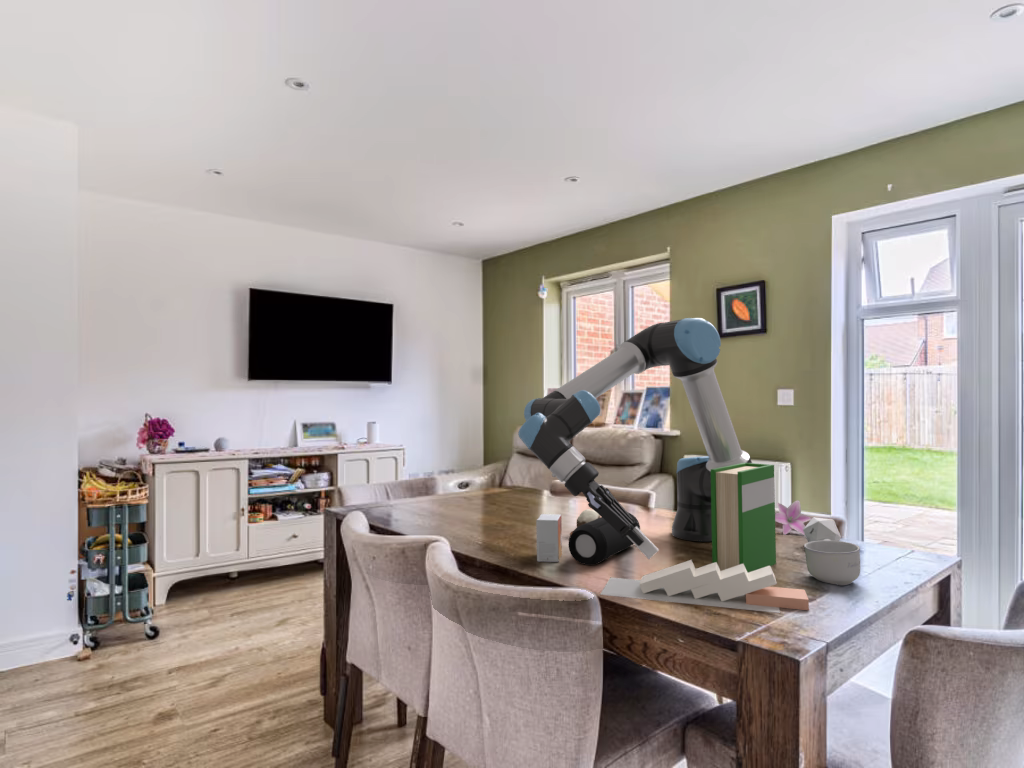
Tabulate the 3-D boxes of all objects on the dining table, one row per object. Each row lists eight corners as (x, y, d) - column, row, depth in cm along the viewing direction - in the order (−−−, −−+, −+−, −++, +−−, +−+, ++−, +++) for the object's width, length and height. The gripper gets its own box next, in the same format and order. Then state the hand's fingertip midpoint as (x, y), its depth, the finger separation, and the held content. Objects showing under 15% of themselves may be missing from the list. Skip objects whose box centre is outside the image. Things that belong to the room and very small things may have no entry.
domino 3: (690, 589, 119) (744, 571, 116) (692, 580, 125) (743, 563, 122) (695, 599, 119) (748, 581, 116) (696, 589, 125) (747, 572, 121)
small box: (558, 562, 148) (558, 520, 148) (536, 562, 149) (535, 519, 149) (562, 554, 155) (561, 514, 156) (541, 553, 157) (540, 513, 157)
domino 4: (717, 591, 118) (772, 573, 114) (717, 582, 123) (769, 565, 120) (721, 601, 117) (776, 583, 114) (721, 591, 123) (774, 574, 120)
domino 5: (746, 593, 116) (808, 599, 112) (745, 584, 121) (804, 589, 118) (746, 604, 116) (808, 610, 112) (745, 594, 121) (804, 599, 118)
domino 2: (663, 586, 121) (716, 569, 118) (666, 578, 127) (716, 561, 123) (668, 596, 121) (720, 579, 117) (670, 587, 126) (720, 571, 123)
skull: (578, 524, 186) (598, 502, 182) (601, 550, 181) (622, 528, 178) (559, 531, 176) (581, 507, 172) (583, 558, 171) (605, 534, 168)
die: (801, 545, 164) (793, 521, 160) (827, 529, 165) (820, 504, 160) (823, 563, 156) (816, 538, 152) (850, 546, 157) (843, 521, 153)
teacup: (860, 592, 123) (859, 553, 123) (802, 584, 129) (801, 547, 129) (862, 574, 135) (861, 539, 135) (809, 568, 141) (808, 534, 141)
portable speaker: (610, 542, 167) (609, 507, 167) (643, 547, 162) (643, 510, 162) (565, 564, 146) (564, 524, 146) (602, 571, 141) (601, 528, 141)
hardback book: (743, 580, 132) (741, 472, 133) (712, 573, 138) (710, 469, 138) (776, 563, 145) (774, 464, 145) (746, 557, 150) (744, 462, 150)
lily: (762, 534, 178) (769, 512, 174) (772, 515, 186) (779, 493, 181) (801, 550, 172) (809, 527, 168) (810, 530, 180) (817, 507, 176)
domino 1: (639, 584, 123) (689, 567, 119) (642, 575, 128) (691, 559, 125) (643, 593, 122) (694, 577, 119) (646, 584, 128) (695, 568, 125)
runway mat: (600, 596, 122) (599, 594, 122) (610, 579, 134) (610, 577, 134) (780, 615, 111) (780, 612, 111) (775, 594, 122) (775, 592, 122)
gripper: (570, 479, 138) (645, 558, 132) (555, 488, 125) (637, 575, 119) (592, 457, 136) (669, 535, 130) (579, 463, 124) (663, 550, 118)
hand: (653, 554), depth 125 cm, fingers closed
